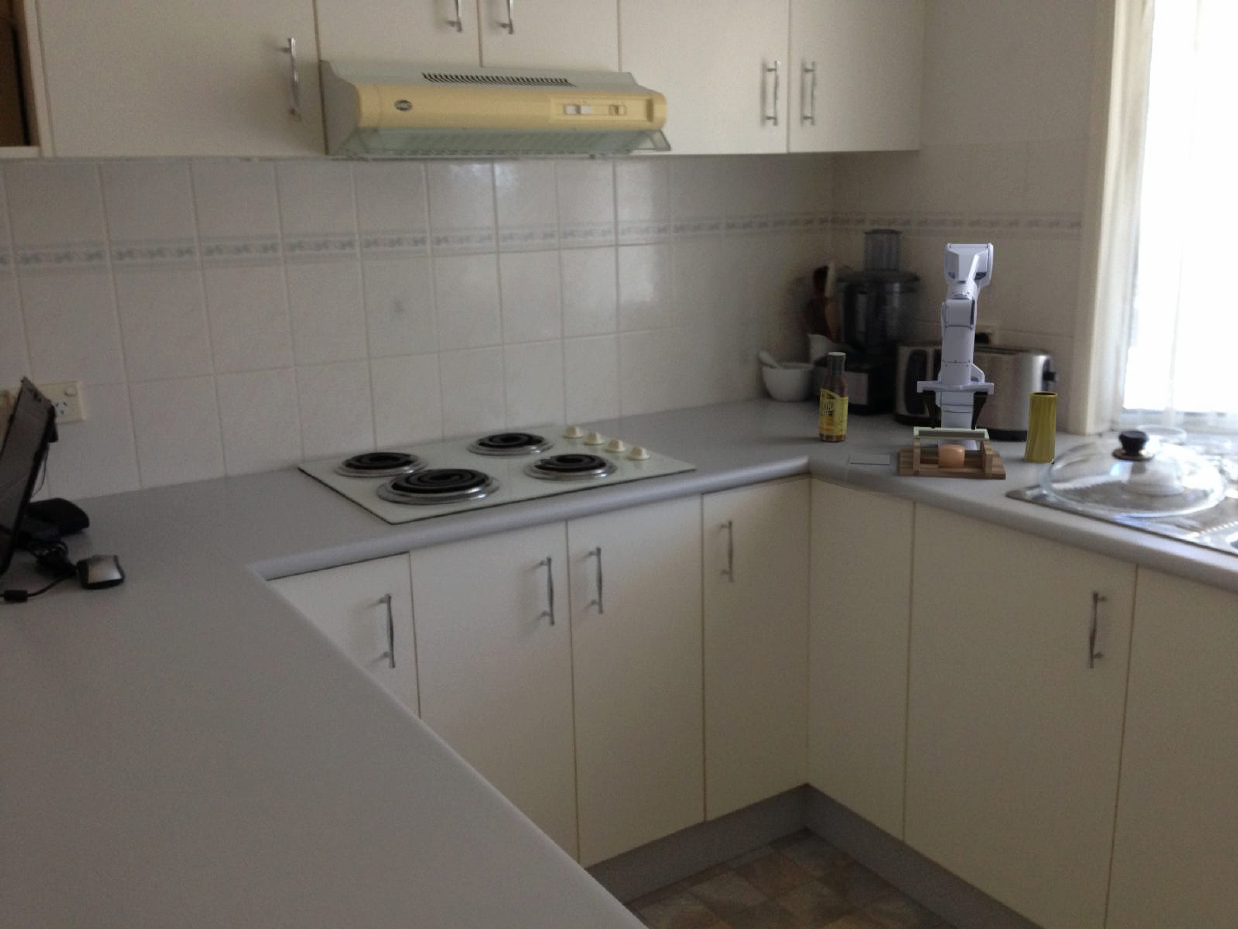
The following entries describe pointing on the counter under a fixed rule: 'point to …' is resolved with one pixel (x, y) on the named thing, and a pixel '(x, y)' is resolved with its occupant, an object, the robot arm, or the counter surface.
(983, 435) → the cover
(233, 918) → the counter surface
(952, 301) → the robot arm
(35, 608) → the counter surface
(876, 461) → the coaster
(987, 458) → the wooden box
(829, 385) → the sauce bottle
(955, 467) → the tan rounded cylinder
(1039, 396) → the vase
